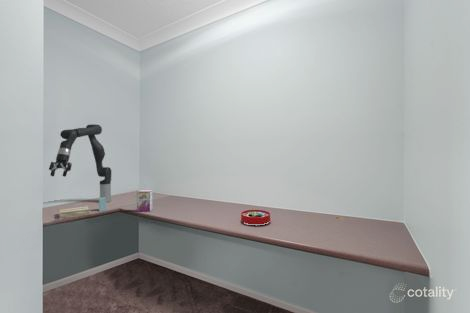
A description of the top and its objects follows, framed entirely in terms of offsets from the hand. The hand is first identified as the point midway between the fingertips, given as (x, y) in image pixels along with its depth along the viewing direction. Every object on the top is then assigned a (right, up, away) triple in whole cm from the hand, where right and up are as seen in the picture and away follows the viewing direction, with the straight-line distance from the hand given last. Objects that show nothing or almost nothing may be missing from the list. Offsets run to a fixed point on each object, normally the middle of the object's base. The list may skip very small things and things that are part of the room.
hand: (58, 176), depth 167 cm
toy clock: (+142, -31, -8) cm, 146 cm away
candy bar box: (+54, -30, +22) cm, 66 cm away
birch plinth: (+4, -30, +11) cm, 33 cm away
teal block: (+18, -30, +24) cm, 43 cm away
